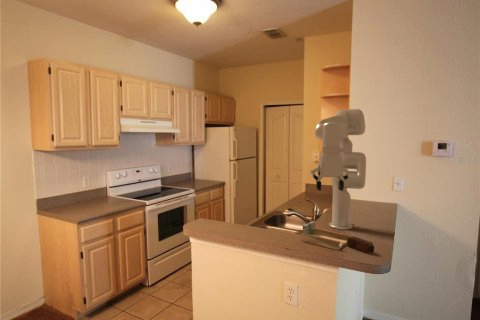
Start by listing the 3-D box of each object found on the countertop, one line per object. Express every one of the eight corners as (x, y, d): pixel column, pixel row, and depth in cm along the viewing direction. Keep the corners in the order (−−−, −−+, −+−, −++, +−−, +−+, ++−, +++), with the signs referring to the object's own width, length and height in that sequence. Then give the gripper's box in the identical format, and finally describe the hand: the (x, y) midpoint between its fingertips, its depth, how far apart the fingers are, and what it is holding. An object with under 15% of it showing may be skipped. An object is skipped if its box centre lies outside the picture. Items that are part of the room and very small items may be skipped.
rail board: (313, 234, 149) (313, 220, 148) (348, 242, 137) (349, 227, 137) (300, 240, 139) (301, 226, 138) (338, 250, 127) (338, 233, 127)
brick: (346, 247, 131) (347, 237, 131) (352, 245, 134) (352, 235, 133) (369, 255, 123) (369, 244, 122) (374, 253, 125) (374, 242, 125)
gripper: (346, 151, 131) (345, 189, 132) (308, 150, 130) (307, 188, 130) (354, 151, 123) (352, 191, 124) (314, 150, 122) (313, 191, 123)
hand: (329, 190), depth 127 cm, fingers open, 9 cm apart
